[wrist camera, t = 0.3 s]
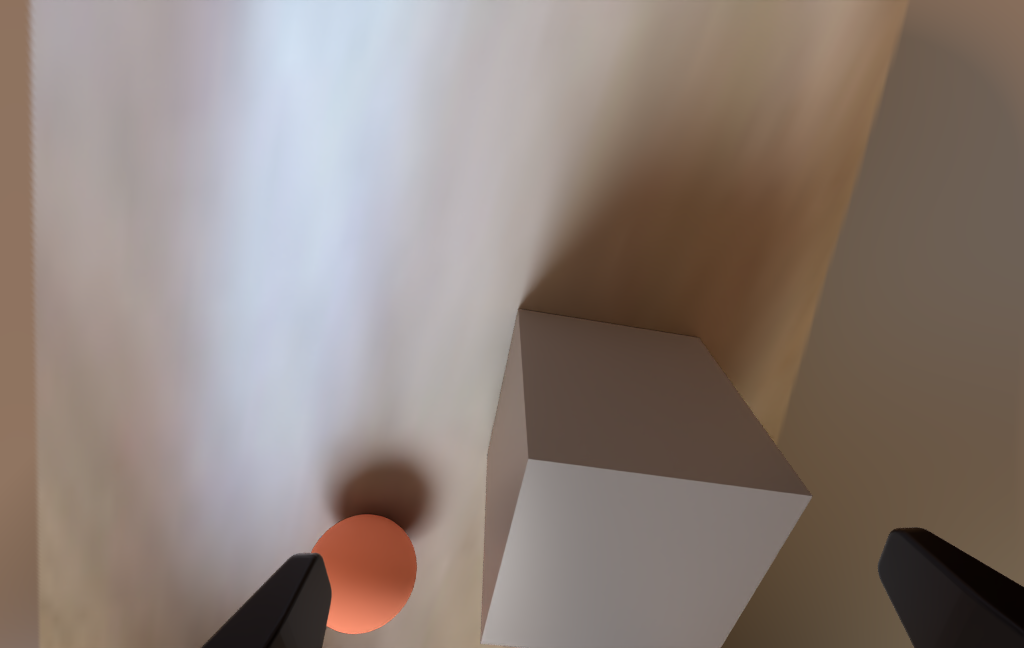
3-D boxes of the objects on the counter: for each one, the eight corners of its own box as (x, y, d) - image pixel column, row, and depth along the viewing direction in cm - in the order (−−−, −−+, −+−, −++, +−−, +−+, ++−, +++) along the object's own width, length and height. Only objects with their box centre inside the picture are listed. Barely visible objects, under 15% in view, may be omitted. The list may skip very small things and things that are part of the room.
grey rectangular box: (644, 475, 25) (709, 665, 17) (487, 454, 24) (480, 643, 16) (698, 337, 21) (812, 496, 14) (518, 308, 21) (528, 458, 13)
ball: (433, 554, 27) (420, 651, 23) (341, 566, 27) (311, 664, 23) (409, 485, 25) (389, 577, 20) (310, 499, 25) (268, 592, 21)
